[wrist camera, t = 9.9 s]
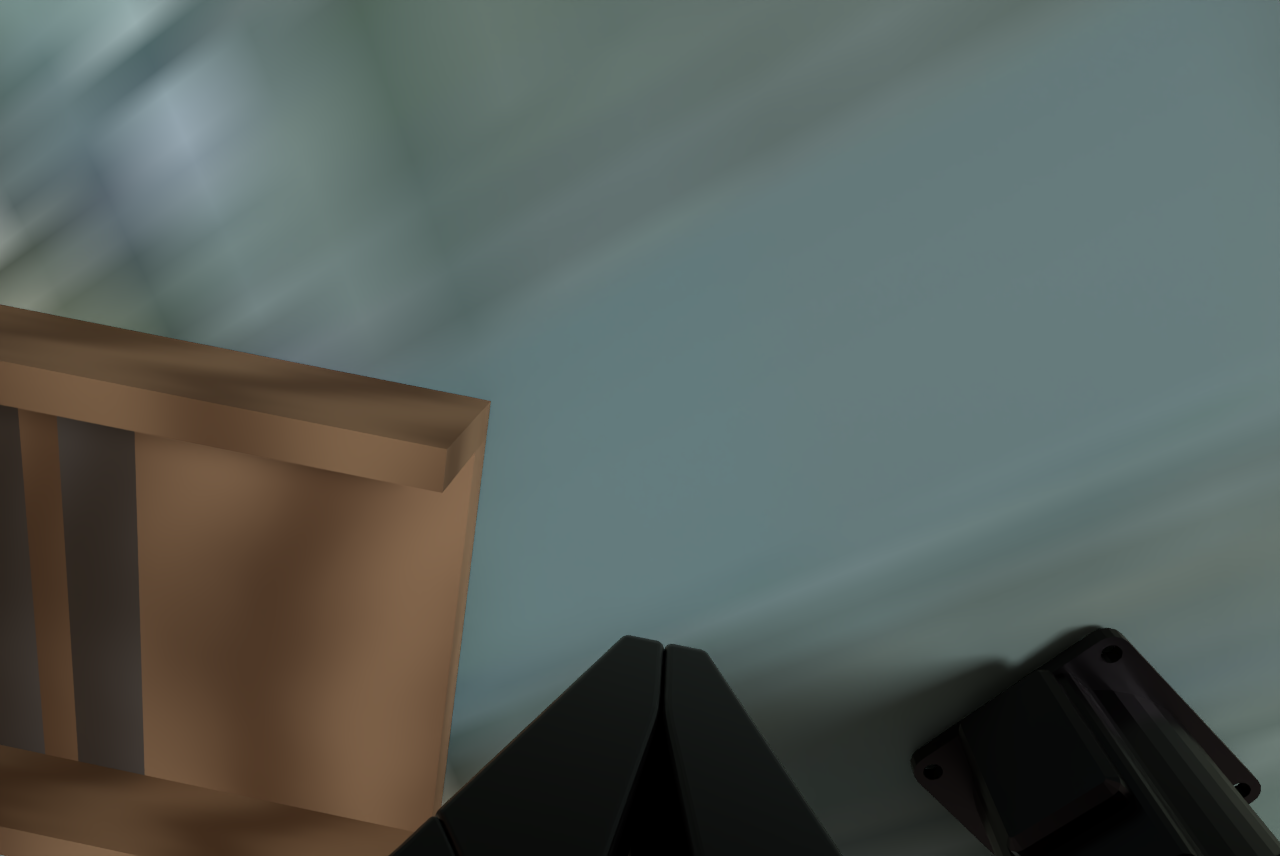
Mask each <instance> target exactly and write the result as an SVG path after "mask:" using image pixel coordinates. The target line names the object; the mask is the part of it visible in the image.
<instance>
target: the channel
mask: <svg viewBox="0 0 1280 856" xmlns="http://www.w3.org/2000/svg"><path fill="white" fill-rule="evenodd" d="M490 403H491V401H487V400H482V399H477V398H472V397H467V396H462V395H457V394H452V393H447V392H442V391H436V390H431V389H426V388H421V387H416V386H411V385H406V384H401V383H396V382H391V381H386V380H381V379H375V378H370V377H365V376H360V375H355V374H350V373H345V372H340V371H335V370H330V369H325V368H320V367H315V366H309V365H304V364H299V363H294V362H289V361H284V360H279V359H274V358H269V357H264V356H259V355H254V354H248V353H243V352H238V351H233V350H228V349H223V348H218V347H213V346H208V345H203V344H198V343H193V342H187V341H182V340H177V339H172V338H167V337H162V336H157V335H152V334H147V333H142V332H137V331H132V330H126V329H121V328H116V327H111V326H106V325H101V324H96V323H91V322H86V321H81V320H76V319H71V318H65V317H60V316H55V315H50V314H45V313H40V312H35V311H30V310H25V309H20V308H15V307H10V306H5V305H0V855H4V856H389V855H390V854H391V853H392V852H393V851H394V850H395V849H397V848H398V847H399V846H400V845H401V844H402V843H403V842H404V841H405V840H406V839H407V838H408V837H409V836H411V835H412V834H413V833H414V832H415V831H416V830H417V829H418V828H419V827H420V826H421V825H422V824H423V823H424V822H425V821H426V820H427V819H428V818H430V817H432V816H435V815H436V812H437V811H438V810H439V809H440V808H441V803H442V795H443V787H444V779H445V771H446V763H447V754H448V746H449V738H450V730H451V722H452V713H453V705H454V697H455V689H456V681H457V673H458V664H459V656H460V648H461V640H462V632H463V623H464V615H465V607H466V599H467V591H468V583H469V574H470V566H471V558H472V550H473V542H474V533H475V525H476V517H477V509H478V501H479V493H480V484H481V476H482V468H483V460H484V452H485V443H486V435H487V427H488V419H489V411H490Z"/></svg>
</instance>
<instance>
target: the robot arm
mask: <svg viewBox="0 0 1280 856" xmlns="http://www.w3.org/2000/svg"><path fill="white" fill-rule="evenodd" d="M1110 645H1113V646H1115V647H1114V649H1113V650H1112V651H1111V652H1109V653H1106V654H1101V652H1102V650H1103V649H1104V648H1105V647H1108V646H1110ZM931 764H937V766H936V767H935V768H933V769H925V767H926V766H928V765H931ZM911 767H912V770H913V773H914V776H915V778H916V779H917V781H918V782H919V783H920V784H921V785H922V786H923V787H924V788H925V789H926V790H927V791H928V792H929V793H930V794H931V795H932V796H933V797H934V798H936V799H937V800H938V801H939V802H940V803H941V804H942V805H943V806H944V807H945V808H946V809H947V810H948V811H949V812H950V813H951V814H952V815H953V816H954V817H955V818H956V819H957V820H959V821H960V822H961V823H962V824H963V825H964V826H965V827H966V828H967V829H968V830H969V831H970V832H971V833H972V834H973V835H974V836H975V837H976V838H977V839H978V840H979V841H980V842H982V843H983V844H984V845H985V846H986V847H987V848H988V849H989V850H990V851H991V852H992V853H993V854H994V855H995V856H1280V842H1279V841H1278V839H1277V838H1276V837H1275V836H1274V835H1273V833H1272V832H1271V831H1270V830H1269V828H1268V827H1267V826H1266V825H1265V824H1264V822H1263V821H1262V820H1261V819H1260V818H1259V816H1258V815H1257V814H1256V813H1255V811H1254V810H1253V809H1252V808H1251V807H1250V805H1249V804H1250V803H1251V802H1253V801H1254V800H1255V799H1256V798H1257V797H1258V796H1259V794H1260V792H1261V785H1260V784H1259V782H1258V780H1257V779H1256V778H1255V777H1254V776H1253V774H1252V773H1251V772H1250V771H1249V770H1248V769H1247V768H1246V767H1245V765H1244V764H1243V763H1242V762H1241V761H1240V760H1239V759H1238V758H1237V757H1236V756H1235V755H1234V754H1233V753H1232V752H1231V750H1230V749H1229V748H1228V747H1227V746H1226V745H1225V744H1224V743H1223V742H1222V741H1221V740H1220V739H1219V738H1218V736H1217V735H1216V734H1215V733H1214V732H1213V731H1212V730H1211V729H1210V728H1209V727H1208V726H1207V725H1206V724H1205V723H1204V721H1203V720H1202V719H1201V718H1200V717H1199V716H1198V715H1197V714H1196V713H1195V712H1194V711H1193V710H1192V709H1191V708H1190V706H1189V705H1188V704H1187V703H1186V702H1185V701H1184V700H1183V699H1182V698H1181V697H1180V696H1179V695H1178V694H1177V693H1176V691H1175V690H1174V689H1173V688H1172V687H1171V686H1170V685H1169V684H1168V683H1167V682H1166V681H1165V680H1164V679H1163V678H1162V676H1161V675H1160V674H1159V673H1158V672H1157V671H1156V670H1155V669H1154V668H1153V667H1152V666H1151V665H1150V664H1149V662H1148V661H1147V660H1146V659H1145V658H1144V657H1143V656H1142V655H1141V654H1140V653H1139V652H1138V651H1137V650H1136V649H1135V647H1134V646H1133V645H1132V644H1131V643H1130V642H1129V641H1128V640H1127V639H1126V638H1125V637H1124V636H1123V635H1122V634H1121V633H1120V632H1118V631H1117V630H1115V629H1111V628H1103V629H1098V630H1096V631H1094V632H1092V633H1091V634H1089V635H1088V636H1086V637H1085V638H1083V639H1082V640H1080V641H1079V642H1077V643H1076V644H1074V645H1073V646H1071V647H1070V648H1068V649H1067V650H1065V651H1064V652H1062V653H1061V654H1059V655H1058V656H1056V657H1055V658H1053V659H1052V660H1050V661H1049V662H1047V663H1046V664H1045V665H1043V666H1042V667H1040V668H1039V669H1037V670H1036V671H1034V672H1033V673H1031V674H1030V675H1028V676H1027V677H1025V678H1024V679H1022V680H1021V681H1019V682H1018V683H1016V684H1015V685H1013V686H1012V687H1010V688H1009V689H1007V690H1006V691H1004V692H1003V693H1001V694H1000V695H998V696H997V697H995V698H994V699H993V700H991V701H990V702H988V703H987V704H985V705H984V706H982V707H981V708H979V709H978V710H976V711H975V712H973V713H972V714H970V715H969V716H967V717H966V718H964V719H963V720H961V721H960V722H958V723H957V724H955V725H954V726H952V727H951V728H949V729H948V730H946V731H945V732H943V733H942V734H940V735H939V736H938V737H936V738H935V739H933V740H932V741H930V742H929V743H927V744H926V745H924V746H923V747H921V748H920V749H918V750H917V751H916V752H915V753H914V754H913V755H912V758H911ZM1238 783H1239V784H1238ZM1235 784H1238V785H1237V786H1233V785H1235ZM389 856H843V855H842V854H841V852H840V851H839V849H838V848H837V846H836V845H835V843H834V842H833V840H832V839H831V837H830V836H829V834H828V833H827V831H826V830H825V828H824V827H823V826H822V824H821V823H820V821H819V820H818V818H817V817H816V815H815V814H814V812H813V811H812V809H811V808H810V806H809V805H808V803H807V802H806V800H805V799H804V797H803V796H802V794H801V793H800V791H799V790H798V788H797V787H796V785H795V784H794V782H793V781H792V779H791V778H790V776H789V775H788V773H787V772H786V770H785V769H784V767H783V766H782V764H781V763H780V761H779V760H778V758H777V757H776V755H775V754H774V752H773V751H772V749H771V748H770V746H769V745H768V743H767V742H766V740H765V739H764V737H763V736H762V734H761V733H760V731H759V730H758V728H757V727H756V725H755V724H754V722H753V721H752V719H751V718H750V716H749V715H748V713H747V712H746V710H745V709H744V707H743V706H742V704H741V703H740V701H739V700H738V698H737V697H736V695H735V694H734V692H733V691H732V689H731V688H730V686H729V685H728V683H727V682H726V680H725V679H724V677H723V676H722V674H721V673H720V671H719V670H718V668H717V667H716V665H715V664H714V662H713V661H712V659H711V658H710V656H709V655H708V654H707V653H706V652H705V651H703V650H701V649H696V648H691V647H685V646H680V645H675V644H669V645H667V646H666V647H665V649H664V647H663V645H662V644H661V643H660V642H659V641H655V640H650V639H645V638H641V637H636V636H631V635H626V636H623V637H622V638H621V639H620V640H619V641H618V642H616V643H615V644H614V645H613V646H612V647H611V648H610V649H609V650H608V651H607V652H606V653H605V654H604V655H603V656H602V657H600V658H599V659H598V660H597V661H596V662H595V663H594V664H593V665H592V666H591V667H590V668H589V669H588V670H587V671H586V672H585V673H583V674H582V675H581V676H580V677H579V678H578V679H577V680H576V681H575V682H574V683H573V684H572V685H571V686H570V687H569V688H567V689H566V690H565V691H564V692H563V693H562V694H561V695H560V696H559V697H558V698H557V699H556V700H555V701H554V702H553V703H552V704H550V705H549V706H548V707H547V708H546V709H545V710H544V711H543V712H542V713H541V714H540V715H539V716H538V717H537V718H536V719H535V720H533V721H532V722H531V723H530V724H529V725H528V726H527V727H526V728H525V729H524V730H523V731H522V732H521V733H520V734H519V735H517V736H516V737H515V738H514V739H513V740H512V741H511V742H510V743H509V744H508V745H507V746H506V747H505V748H504V749H503V750H502V751H500V752H499V753H498V754H497V755H496V756H495V757H494V758H493V759H492V760H491V761H490V762H489V763H488V764H487V765H486V766H484V767H483V768H482V769H481V770H480V771H479V772H478V773H477V774H476V775H475V776H474V777H473V778H472V779H471V780H470V781H469V782H467V783H466V784H465V785H464V786H463V787H462V788H461V789H460V790H459V791H458V792H457V793H456V794H455V795H454V796H453V797H451V798H450V799H449V800H448V801H447V802H446V803H445V804H444V805H443V806H442V807H441V808H440V809H439V810H438V811H437V812H436V815H435V816H432V817H430V818H428V819H427V820H426V821H425V822H424V823H423V824H422V825H421V826H420V827H419V828H418V829H417V830H416V831H415V832H414V833H413V834H412V835H411V836H409V837H408V838H407V839H406V840H405V841H404V842H403V843H402V844H401V845H400V846H399V847H398V848H397V849H395V850H394V851H393V852H392V853H391V854H390V855H389Z"/></svg>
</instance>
